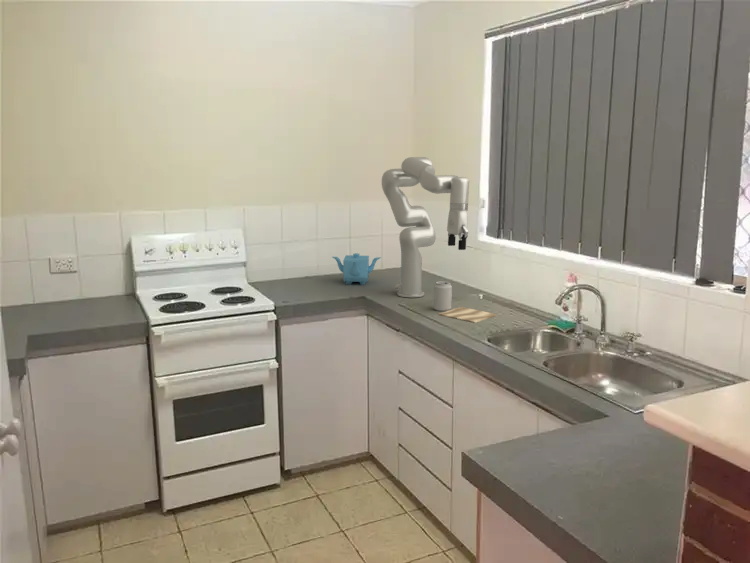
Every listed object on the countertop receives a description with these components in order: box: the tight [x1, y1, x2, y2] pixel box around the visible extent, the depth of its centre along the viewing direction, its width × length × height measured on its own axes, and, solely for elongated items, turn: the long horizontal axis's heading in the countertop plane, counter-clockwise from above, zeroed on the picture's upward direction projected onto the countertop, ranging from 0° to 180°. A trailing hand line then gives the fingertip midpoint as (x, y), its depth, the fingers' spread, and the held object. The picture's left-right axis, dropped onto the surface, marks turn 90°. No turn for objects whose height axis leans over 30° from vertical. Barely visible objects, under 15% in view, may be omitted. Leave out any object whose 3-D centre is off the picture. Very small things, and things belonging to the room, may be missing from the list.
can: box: [433, 280, 453, 312], centre depth 285 cm, size 8×8×12 cm
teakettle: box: [332, 252, 382, 286], centre depth 338 cm, size 19×19×15 cm
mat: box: [438, 306, 498, 324], centre depth 278 cm, size 18×16×1 cm
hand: (456, 247), depth 283 cm, fingers open, 9 cm apart
